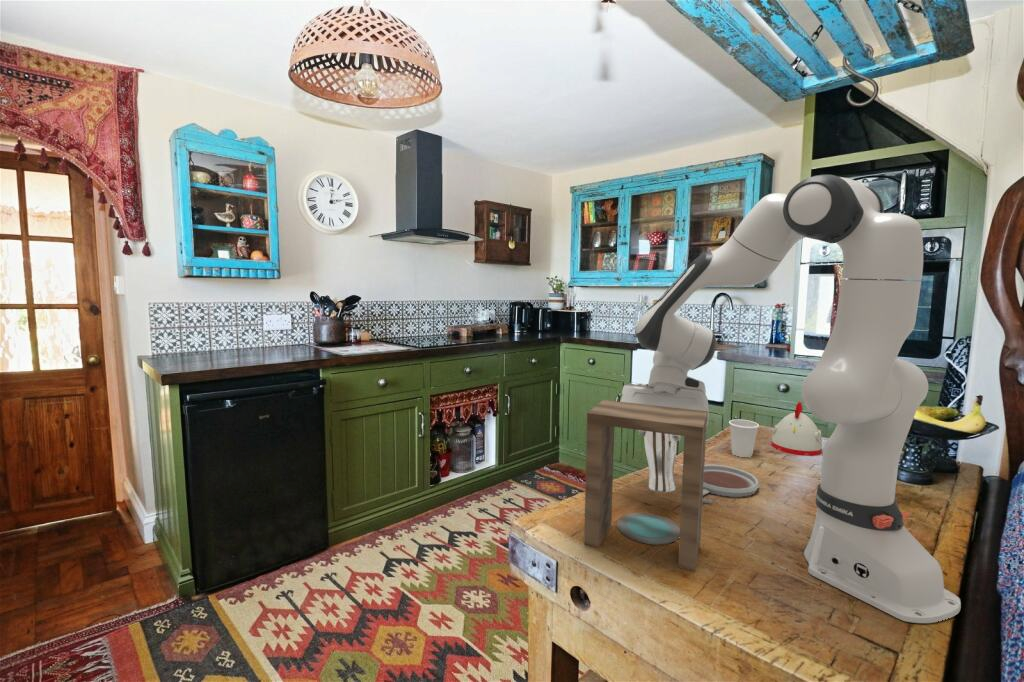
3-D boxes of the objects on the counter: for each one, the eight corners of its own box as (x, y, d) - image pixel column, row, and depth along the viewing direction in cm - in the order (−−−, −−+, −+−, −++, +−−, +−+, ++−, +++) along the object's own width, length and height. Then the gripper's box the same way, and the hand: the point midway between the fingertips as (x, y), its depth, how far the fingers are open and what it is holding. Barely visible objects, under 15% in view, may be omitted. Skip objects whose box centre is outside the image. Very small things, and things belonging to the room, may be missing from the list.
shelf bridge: (607, 506, 113) (611, 393, 110) (703, 525, 104) (710, 404, 101) (584, 543, 96) (587, 413, 93) (695, 571, 87) (702, 427, 84)
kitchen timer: (766, 449, 153) (770, 403, 151) (776, 438, 163) (779, 395, 162) (818, 459, 144) (822, 410, 142) (824, 447, 155) (828, 402, 153)
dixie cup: (746, 461, 142) (748, 428, 141) (721, 452, 149) (723, 421, 148) (762, 456, 146) (765, 424, 145) (737, 448, 153) (739, 417, 152)
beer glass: (680, 485, 111) (678, 420, 111) (674, 494, 105) (671, 426, 105) (650, 481, 115) (648, 419, 114) (642, 490, 109) (640, 424, 109)
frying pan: (651, 485, 120) (709, 458, 137) (651, 496, 120) (708, 467, 138) (717, 510, 107) (771, 476, 124) (716, 523, 107) (770, 487, 125)
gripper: (622, 375, 119) (611, 423, 111) (711, 383, 110) (705, 436, 102) (625, 389, 123) (615, 436, 116) (711, 398, 115) (706, 450, 107)
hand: (658, 436), depth 109 cm, fingers closed on beer glass, 6 cm apart
